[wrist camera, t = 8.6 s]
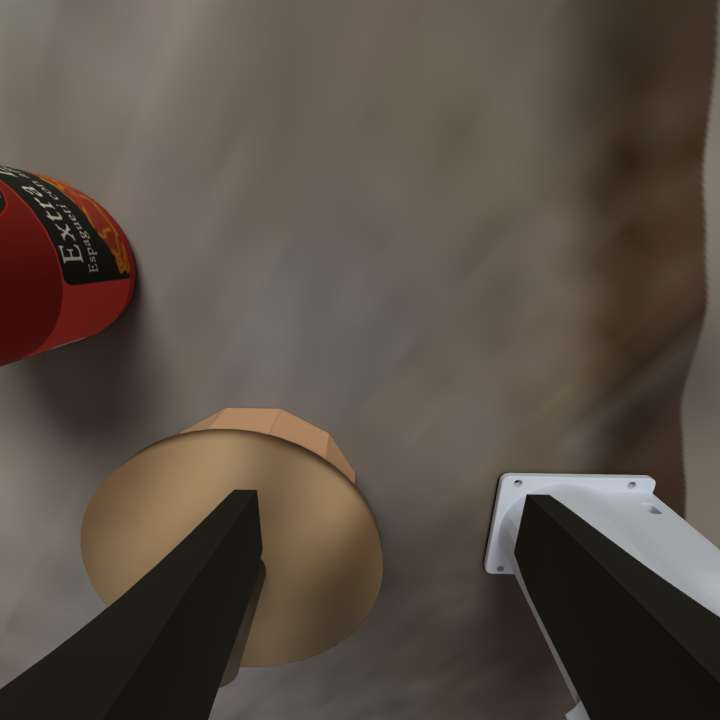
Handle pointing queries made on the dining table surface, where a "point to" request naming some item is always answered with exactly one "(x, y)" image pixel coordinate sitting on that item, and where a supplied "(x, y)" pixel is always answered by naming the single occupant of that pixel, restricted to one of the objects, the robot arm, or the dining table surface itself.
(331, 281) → the dining table surface
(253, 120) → the dining table surface
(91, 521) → the lid
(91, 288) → the canned food
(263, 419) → the bowl
